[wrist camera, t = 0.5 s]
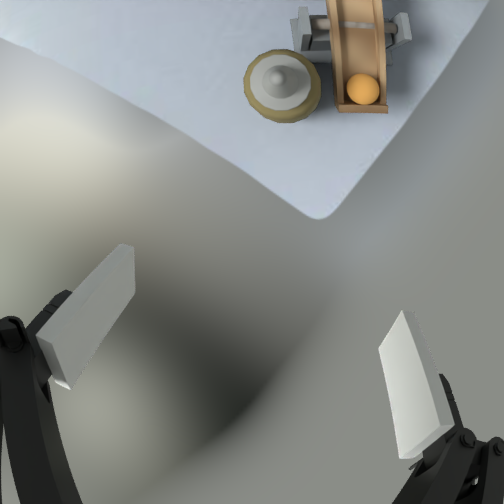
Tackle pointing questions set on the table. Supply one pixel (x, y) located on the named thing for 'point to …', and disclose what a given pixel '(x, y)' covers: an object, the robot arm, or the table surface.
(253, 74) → the squeeze bottle
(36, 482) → the robot arm
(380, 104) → the lever
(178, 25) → the table surface
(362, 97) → the ball
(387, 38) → the fulcrum
